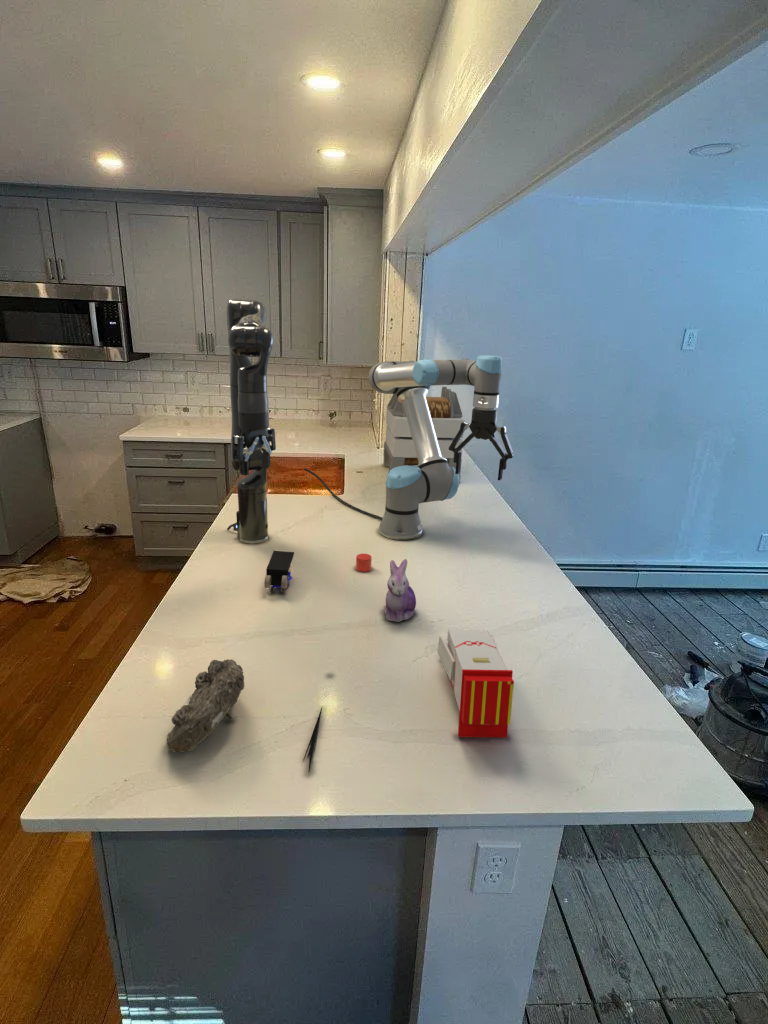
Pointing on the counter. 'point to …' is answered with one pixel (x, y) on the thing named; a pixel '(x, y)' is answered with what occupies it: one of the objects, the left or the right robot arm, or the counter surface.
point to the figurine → (399, 594)
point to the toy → (478, 682)
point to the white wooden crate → (399, 435)
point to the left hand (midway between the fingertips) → (255, 471)
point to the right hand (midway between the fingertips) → (478, 476)
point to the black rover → (279, 570)
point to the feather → (313, 740)
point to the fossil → (206, 705)
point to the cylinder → (363, 562)
